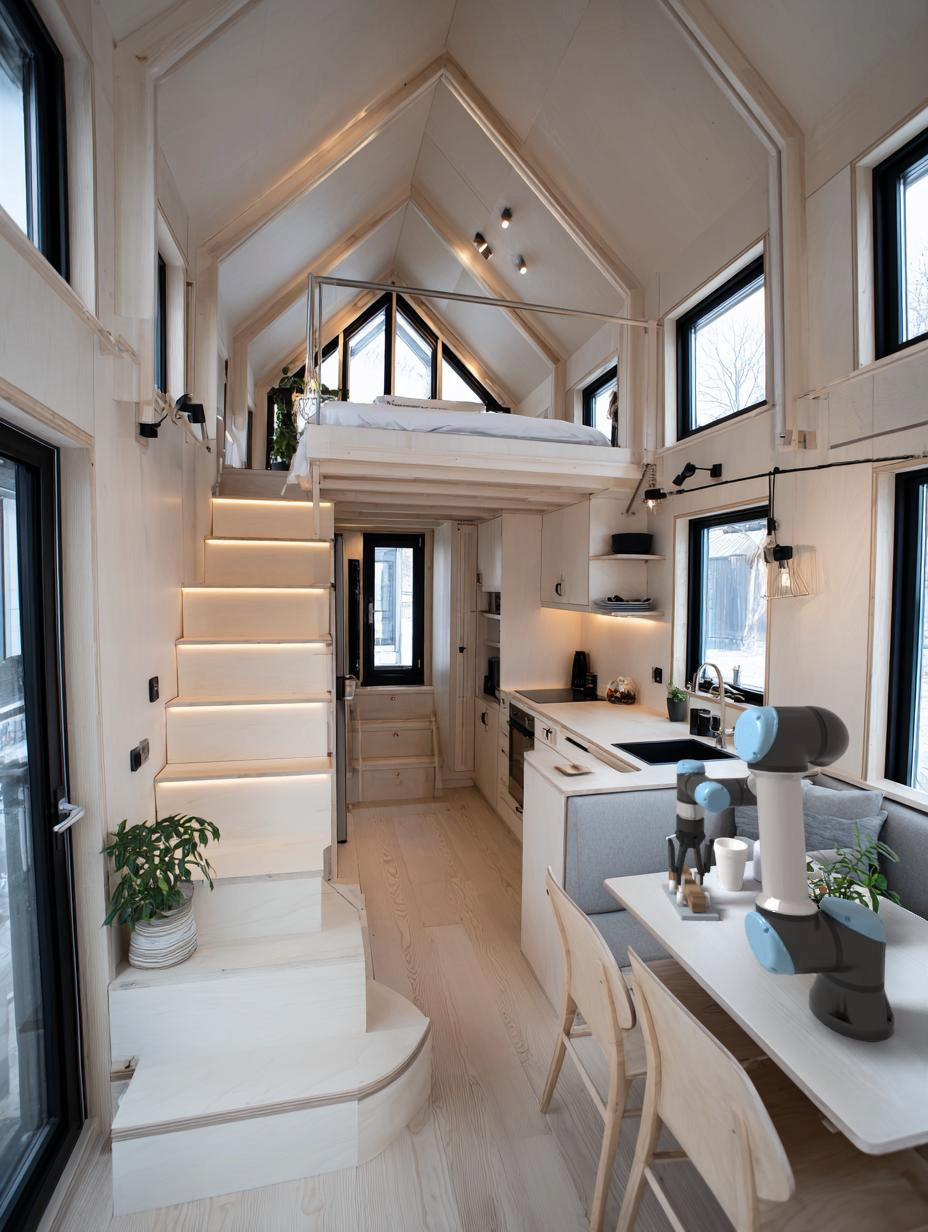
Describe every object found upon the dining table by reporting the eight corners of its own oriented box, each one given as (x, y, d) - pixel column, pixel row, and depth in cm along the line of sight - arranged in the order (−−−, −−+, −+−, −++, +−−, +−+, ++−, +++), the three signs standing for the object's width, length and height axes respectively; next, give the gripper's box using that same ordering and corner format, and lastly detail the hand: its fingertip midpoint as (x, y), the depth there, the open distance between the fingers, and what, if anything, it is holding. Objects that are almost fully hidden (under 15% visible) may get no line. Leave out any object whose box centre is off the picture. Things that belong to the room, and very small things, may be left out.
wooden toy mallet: (709, 912, 166) (709, 896, 166) (688, 911, 166) (688, 895, 166) (687, 880, 184) (687, 866, 184) (668, 880, 184) (668, 866, 184)
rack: (719, 920, 165) (719, 903, 165) (681, 920, 165) (682, 902, 165) (695, 888, 183) (696, 873, 183) (662, 888, 183) (662, 872, 183)
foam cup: (747, 882, 187) (747, 840, 187) (747, 896, 179) (748, 852, 178) (713, 876, 191) (714, 835, 190) (712, 889, 182) (713, 847, 182)
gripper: (714, 810, 177) (713, 889, 178) (656, 810, 177) (656, 889, 178) (725, 820, 169) (723, 902, 170) (664, 819, 170) (663, 902, 171)
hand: (689, 895), depth 174 cm, fingers closed on wooden toy mallet, 4 cm apart
